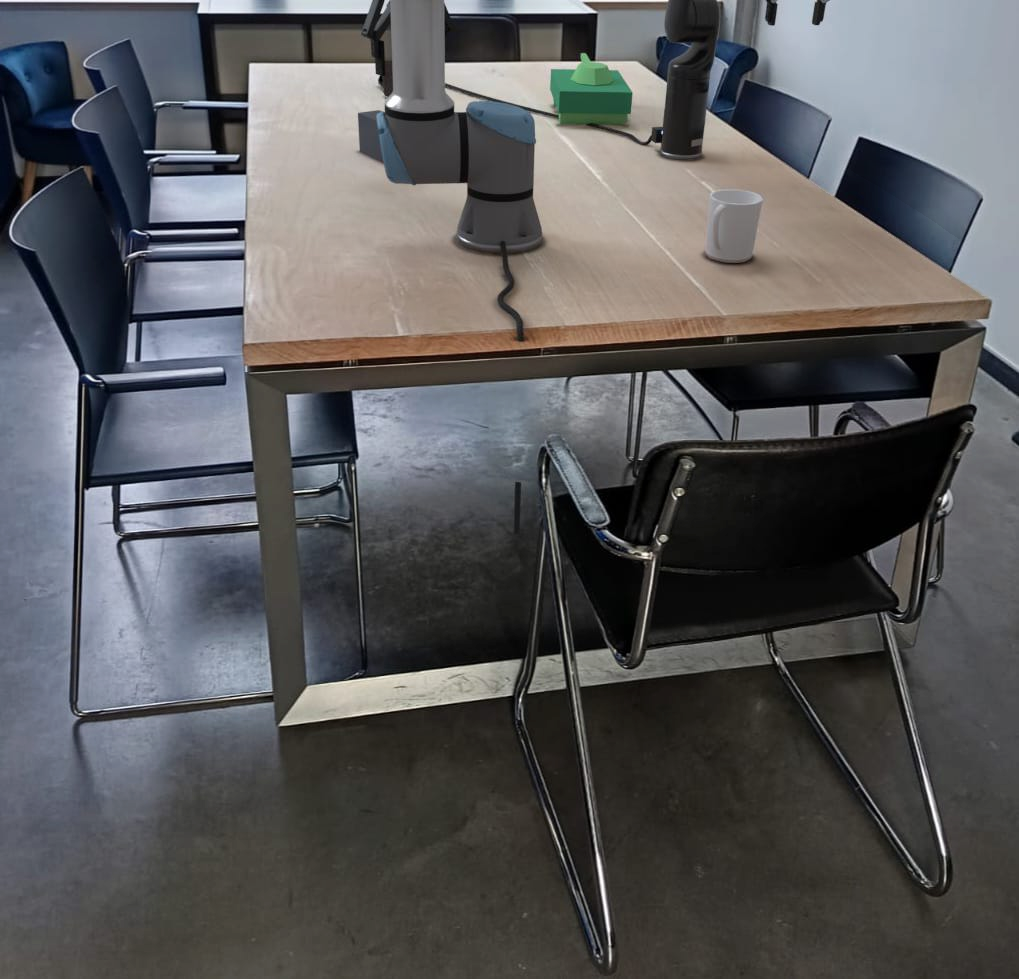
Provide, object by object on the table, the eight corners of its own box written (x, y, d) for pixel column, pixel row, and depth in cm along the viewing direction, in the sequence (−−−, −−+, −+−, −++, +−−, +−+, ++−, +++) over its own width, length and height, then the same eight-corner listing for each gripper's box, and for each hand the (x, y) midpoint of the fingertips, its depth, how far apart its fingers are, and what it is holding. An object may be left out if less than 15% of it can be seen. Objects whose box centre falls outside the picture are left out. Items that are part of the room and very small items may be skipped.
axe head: (443, 87, 294) (392, 77, 287) (436, 115, 299) (385, 106, 292) (421, 62, 307) (371, 52, 300) (414, 89, 311) (365, 80, 304)
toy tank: (615, 49, 292) (633, 76, 262) (611, 97, 298) (629, 128, 269) (549, 48, 291) (560, 74, 261) (547, 96, 297) (558, 127, 268)
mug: (719, 243, 196) (726, 186, 191) (763, 254, 192) (772, 196, 186) (686, 258, 189) (693, 199, 184) (732, 271, 184) (740, 210, 179)
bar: (433, 172, 233) (432, 131, 228) (411, 176, 230) (409, 134, 225) (380, 148, 248) (379, 110, 244) (359, 151, 246) (357, 112, 241)
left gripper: (451, -47, 221) (451, 64, 232) (340, -43, 209) (346, 74, 220) (471, -44, 216) (471, 69, 227) (358, -40, 204) (364, 80, 214)
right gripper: (837, -76, 195) (822, 21, 204) (761, -77, 193) (749, 21, 202) (854, -73, 189) (838, 28, 197) (775, -74, 187) (762, 28, 196)
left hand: (409, 72), depth 223 cm, fingers open, 13 cm apart
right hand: (793, 24), depth 200 cm, fingers open, 8 cm apart
